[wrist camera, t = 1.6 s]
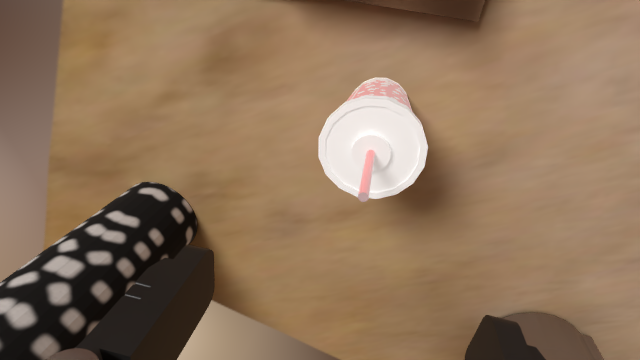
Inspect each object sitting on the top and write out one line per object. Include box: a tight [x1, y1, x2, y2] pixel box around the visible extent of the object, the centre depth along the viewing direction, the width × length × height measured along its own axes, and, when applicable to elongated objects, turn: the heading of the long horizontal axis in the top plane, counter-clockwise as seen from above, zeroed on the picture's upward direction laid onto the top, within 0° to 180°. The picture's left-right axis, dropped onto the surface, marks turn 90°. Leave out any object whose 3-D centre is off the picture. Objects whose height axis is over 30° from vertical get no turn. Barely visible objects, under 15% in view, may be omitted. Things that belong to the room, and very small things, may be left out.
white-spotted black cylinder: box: [0, 182, 197, 360], centre depth 29 cm, size 8×8×20 cm
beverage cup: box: [319, 78, 428, 202], centre depth 21 cm, size 6×6×14 cm
